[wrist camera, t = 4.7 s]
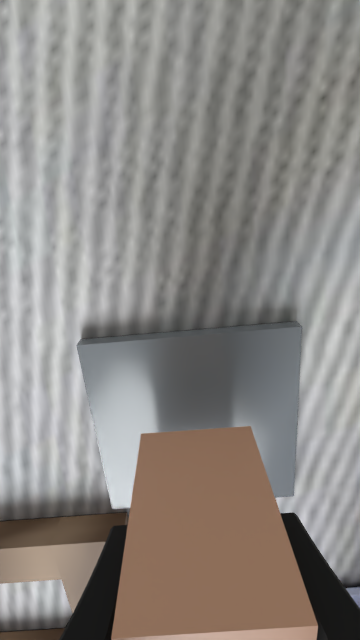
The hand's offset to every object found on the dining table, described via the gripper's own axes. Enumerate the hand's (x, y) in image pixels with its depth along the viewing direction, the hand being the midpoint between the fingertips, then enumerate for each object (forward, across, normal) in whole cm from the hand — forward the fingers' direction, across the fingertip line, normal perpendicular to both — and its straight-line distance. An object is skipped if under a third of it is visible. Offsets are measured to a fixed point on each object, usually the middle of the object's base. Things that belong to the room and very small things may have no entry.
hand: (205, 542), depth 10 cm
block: (+3, 0, 0) cm, 3 cm away
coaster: (+6, 0, 0) cm, 6 cm away
